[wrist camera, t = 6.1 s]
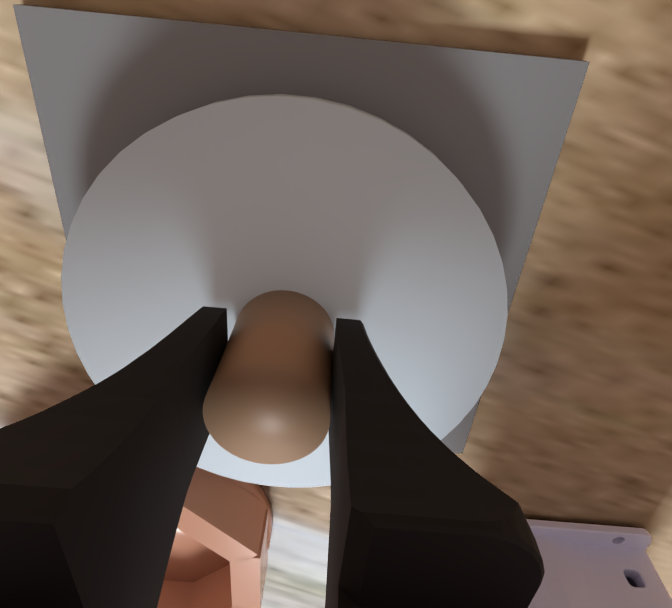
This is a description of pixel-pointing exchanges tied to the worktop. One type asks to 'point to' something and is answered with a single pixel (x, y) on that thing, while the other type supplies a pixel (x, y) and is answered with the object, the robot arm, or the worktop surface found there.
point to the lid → (287, 271)
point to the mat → (305, 80)
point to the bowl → (219, 546)
